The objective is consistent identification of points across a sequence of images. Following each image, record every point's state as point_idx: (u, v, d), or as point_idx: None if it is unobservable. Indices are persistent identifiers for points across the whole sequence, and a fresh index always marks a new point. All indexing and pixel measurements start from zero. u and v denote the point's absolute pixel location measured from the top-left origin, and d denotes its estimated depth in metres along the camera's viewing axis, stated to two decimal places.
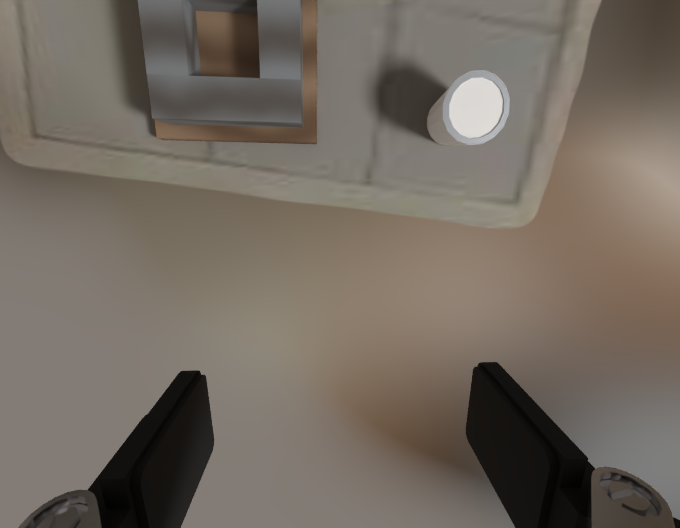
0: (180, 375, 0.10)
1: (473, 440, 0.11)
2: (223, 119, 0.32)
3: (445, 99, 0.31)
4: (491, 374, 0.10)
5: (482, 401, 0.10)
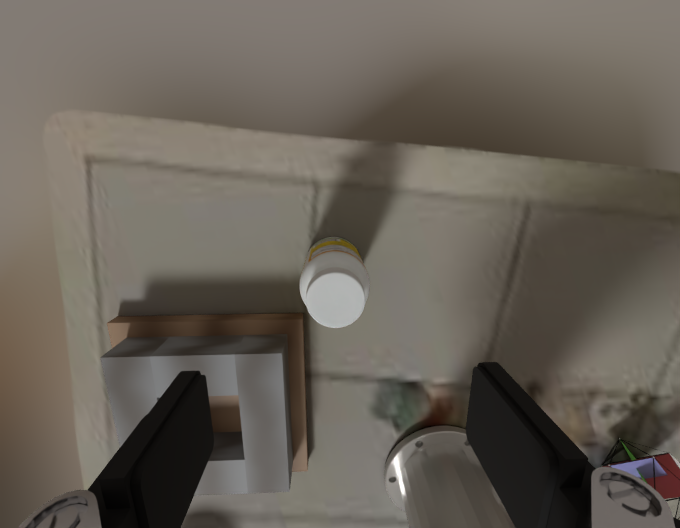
0: (180, 375, 0.10)
1: (473, 440, 0.11)
2: (116, 429, 0.28)
3: None
4: (491, 374, 0.10)
5: (482, 401, 0.10)
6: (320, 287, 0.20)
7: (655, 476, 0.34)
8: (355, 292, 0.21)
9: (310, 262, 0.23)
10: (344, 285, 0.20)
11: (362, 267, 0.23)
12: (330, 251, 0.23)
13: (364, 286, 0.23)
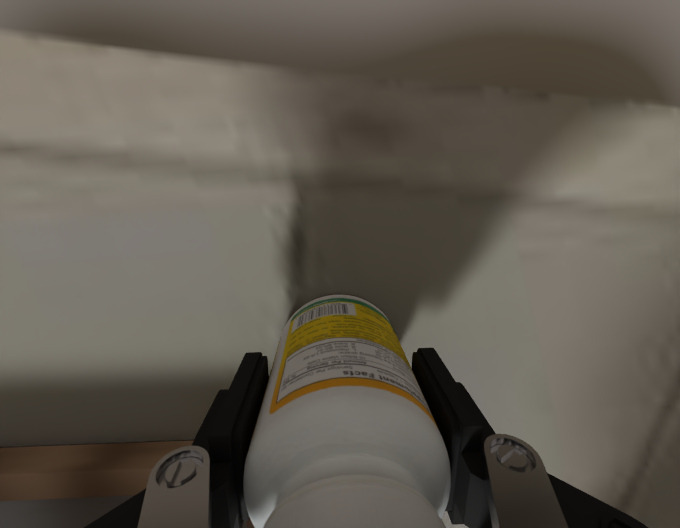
0: (247, 356, 0.11)
1: None
2: None
3: None
4: (425, 358, 0.11)
5: None
6: None
7: None
8: None
9: (273, 423, 0.07)
10: None
11: (434, 437, 0.07)
12: (335, 385, 0.08)
13: (441, 498, 0.07)
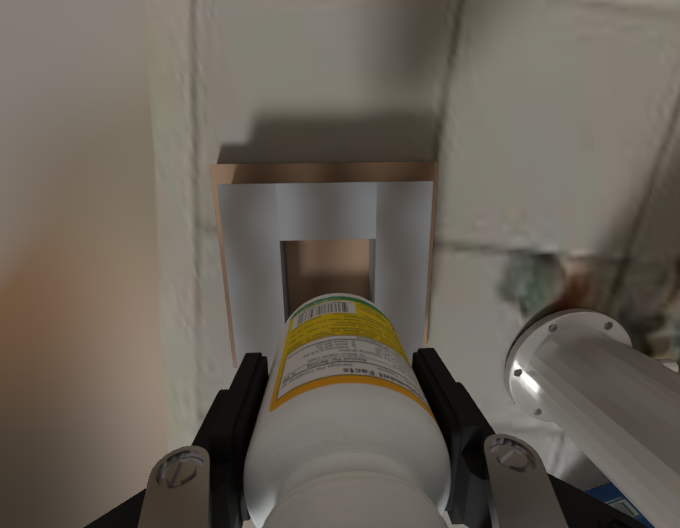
0: (247, 356, 0.11)
1: None
2: (229, 283, 0.23)
3: None
4: (425, 358, 0.11)
5: None
6: None
7: None
8: None
9: (273, 420, 0.07)
10: None
11: (434, 434, 0.07)
12: (335, 382, 0.08)
13: (441, 495, 0.07)
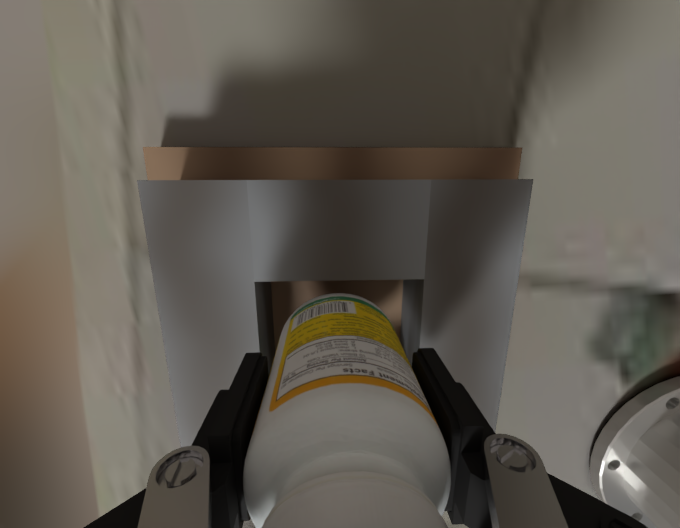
0: (247, 356, 0.11)
1: None
2: (167, 352, 0.13)
3: None
4: (425, 358, 0.11)
5: None
6: None
7: None
8: None
9: (273, 420, 0.07)
10: None
11: (434, 434, 0.07)
12: (335, 382, 0.08)
13: (441, 495, 0.07)
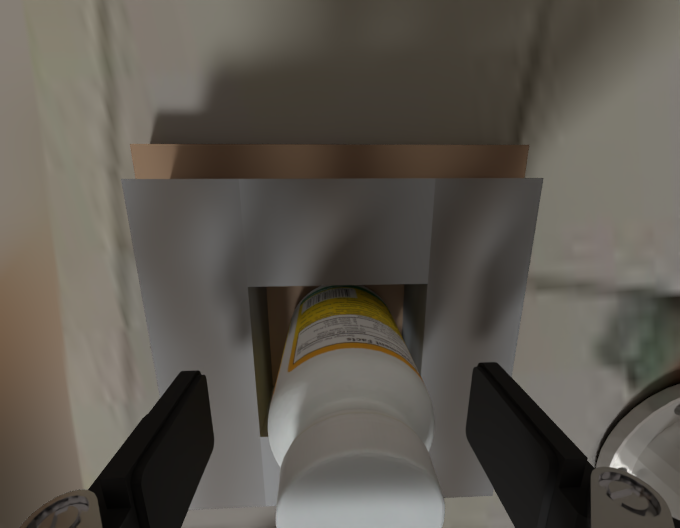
0: (180, 375, 0.10)
1: (473, 440, 0.11)
2: (155, 361, 0.13)
3: None
4: (491, 374, 0.10)
5: (482, 401, 0.10)
6: (316, 491, 0.07)
7: None
8: (418, 499, 0.07)
9: (292, 377, 0.09)
10: (387, 485, 0.07)
11: (419, 387, 0.09)
12: (340, 347, 0.09)
13: (425, 435, 0.09)
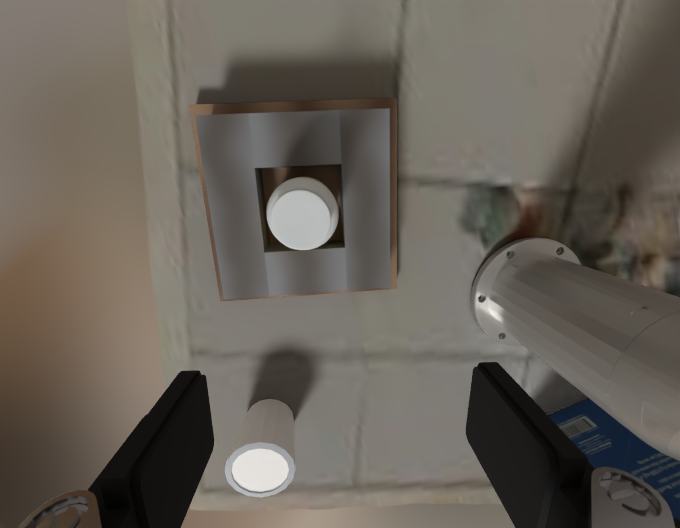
0: (180, 375, 0.10)
1: (473, 440, 0.11)
2: (210, 209, 0.26)
3: (264, 443, 0.30)
4: (491, 374, 0.10)
5: (482, 401, 0.10)
6: (283, 207, 0.20)
7: None
8: (320, 210, 0.20)
9: (275, 190, 0.22)
10: (308, 203, 0.20)
11: (328, 191, 0.22)
12: (295, 178, 0.23)
13: (331, 210, 0.22)
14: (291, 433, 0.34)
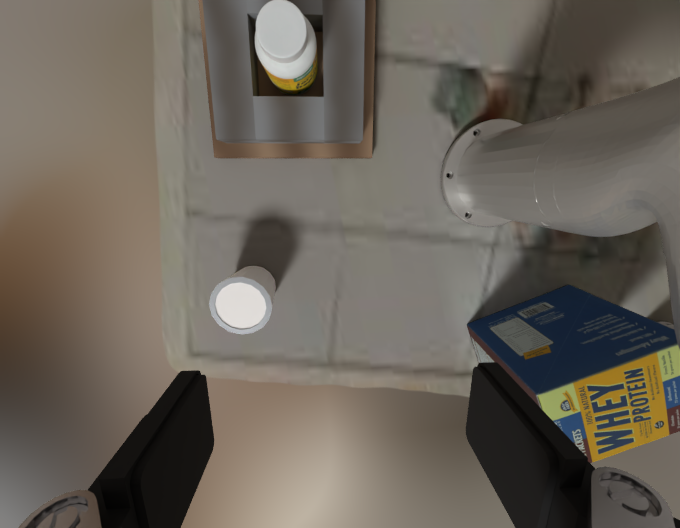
0: (180, 375, 0.10)
1: (473, 440, 0.11)
2: (208, 50, 0.30)
3: (245, 278, 0.34)
4: (491, 374, 0.10)
5: (482, 401, 0.10)
6: (267, 14, 0.24)
7: None
8: (297, 20, 0.24)
9: None
10: (287, 12, 0.24)
11: (307, 20, 0.26)
12: None
13: (309, 36, 0.26)
14: (271, 287, 0.37)
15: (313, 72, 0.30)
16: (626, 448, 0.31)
